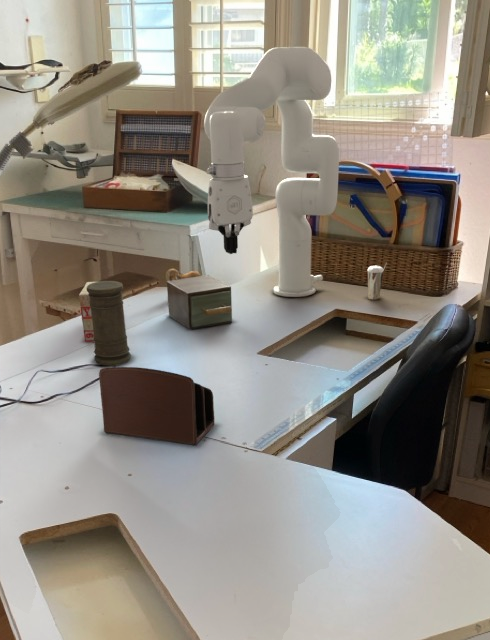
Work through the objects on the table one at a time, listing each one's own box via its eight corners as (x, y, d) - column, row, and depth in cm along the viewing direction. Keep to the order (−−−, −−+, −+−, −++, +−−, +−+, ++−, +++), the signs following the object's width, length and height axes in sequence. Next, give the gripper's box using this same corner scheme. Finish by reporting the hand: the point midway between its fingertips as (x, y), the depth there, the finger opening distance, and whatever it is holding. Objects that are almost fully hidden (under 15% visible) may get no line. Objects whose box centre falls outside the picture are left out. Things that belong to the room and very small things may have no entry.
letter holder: (196, 446, 154) (192, 375, 147) (103, 433, 161) (95, 364, 153) (215, 425, 162) (212, 357, 155) (126, 414, 168) (119, 348, 161)
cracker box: (97, 317, 229) (92, 273, 222) (119, 317, 229) (114, 272, 222) (84, 342, 211) (78, 294, 204) (108, 341, 210) (103, 293, 204)
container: (115, 368, 193) (107, 291, 183) (86, 362, 197) (77, 287, 187) (138, 357, 199) (132, 282, 190) (110, 351, 203) (102, 278, 194)
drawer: (239, 325, 216) (239, 295, 212) (200, 331, 212) (199, 301, 208) (211, 308, 230) (210, 280, 226) (173, 314, 226) (172, 286, 222)
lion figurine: (175, 302, 239) (173, 271, 235) (162, 299, 243) (160, 268, 238) (210, 291, 248) (209, 261, 244) (198, 289, 252) (196, 259, 247)
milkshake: (385, 300, 234) (388, 264, 229) (367, 300, 235) (369, 265, 229) (383, 295, 238) (385, 260, 233) (364, 296, 238) (366, 261, 233)
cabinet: (232, 322, 221) (231, 286, 216) (189, 329, 217) (187, 293, 212) (209, 309, 232) (208, 275, 227) (169, 316, 228) (166, 281, 223)
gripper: (205, 176, 183) (209, 260, 193) (264, 169, 188) (265, 251, 198) (192, 172, 189) (196, 253, 199) (249, 165, 194) (251, 245, 204)
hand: (231, 252), depth 199 cm, fingers closed
